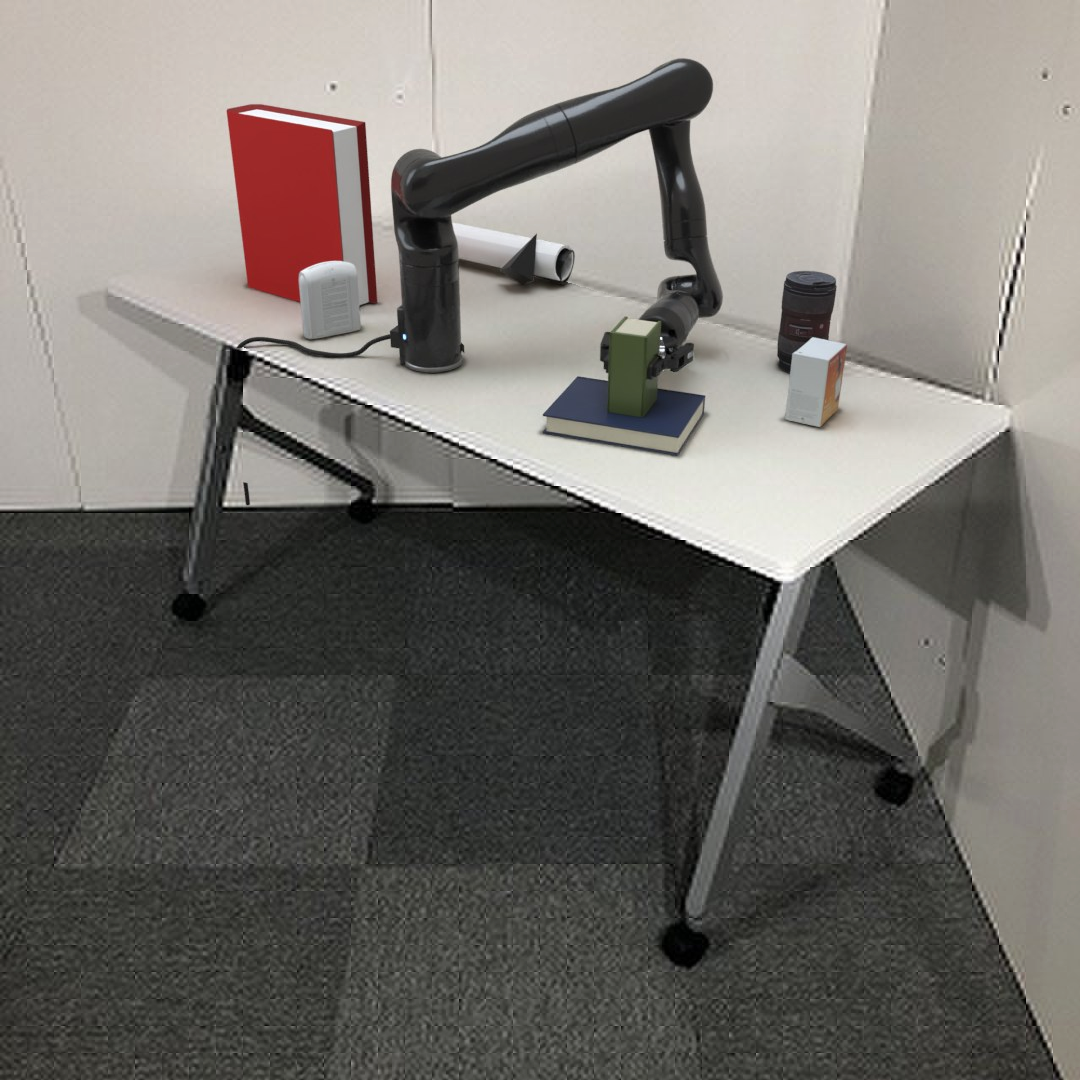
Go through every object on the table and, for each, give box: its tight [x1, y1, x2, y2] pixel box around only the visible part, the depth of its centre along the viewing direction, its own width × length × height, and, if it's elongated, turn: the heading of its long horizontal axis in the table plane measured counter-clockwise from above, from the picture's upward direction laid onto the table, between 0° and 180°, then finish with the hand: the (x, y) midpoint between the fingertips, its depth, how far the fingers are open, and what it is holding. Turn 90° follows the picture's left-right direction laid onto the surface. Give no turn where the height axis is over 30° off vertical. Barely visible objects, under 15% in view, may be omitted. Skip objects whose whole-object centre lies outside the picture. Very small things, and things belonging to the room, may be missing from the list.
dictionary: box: [607, 315, 661, 418], centre depth 170 cm, size 5×7×12 cm
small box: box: [784, 337, 848, 428], centre depth 175 cm, size 8×6×10 cm
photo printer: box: [299, 261, 362, 340], centre depth 203 cm, size 10×4×12 cm, turn 123°
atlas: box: [542, 375, 706, 457], centre depth 174 cm, size 20×15×3 cm
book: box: [226, 103, 378, 306], centre depth 216 cm, size 27×8×32 cm, turn 54°
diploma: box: [452, 221, 576, 286], centre depth 233 cm, size 35×9×14 cm
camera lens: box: [776, 270, 838, 374], centre depth 190 cm, size 8×8×15 cm
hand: (628, 369), depth 168 cm, fingers closed on dictionary, 5 cm apart
